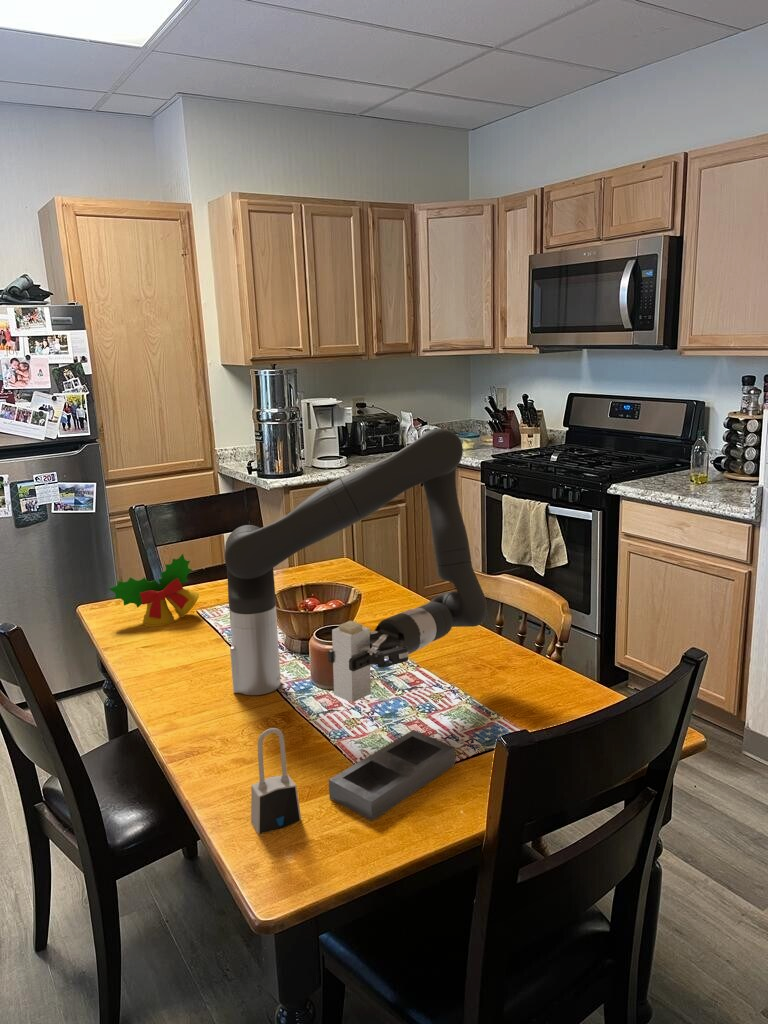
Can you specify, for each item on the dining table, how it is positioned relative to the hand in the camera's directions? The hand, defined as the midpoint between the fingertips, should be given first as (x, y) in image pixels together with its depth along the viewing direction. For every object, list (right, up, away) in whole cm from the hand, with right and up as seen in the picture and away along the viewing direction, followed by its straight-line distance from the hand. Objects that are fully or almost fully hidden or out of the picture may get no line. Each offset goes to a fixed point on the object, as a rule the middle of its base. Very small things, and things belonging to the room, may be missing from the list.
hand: (340, 661), depth 132 cm
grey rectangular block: (+2, -6, +4) cm, 8 cm away
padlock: (-9, -21, -16) cm, 28 cm away
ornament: (-50, -3, +66) cm, 83 cm away
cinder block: (+9, -18, -7) cm, 21 cm away
